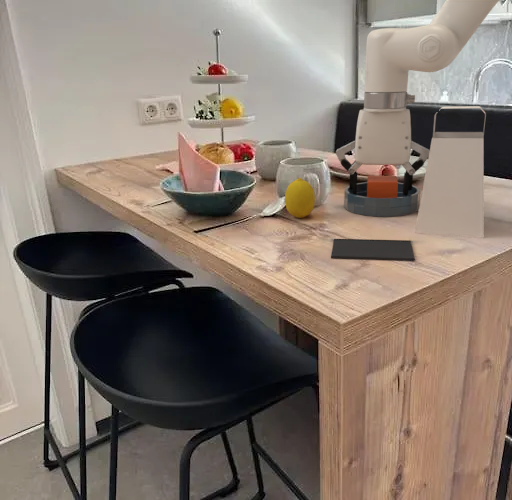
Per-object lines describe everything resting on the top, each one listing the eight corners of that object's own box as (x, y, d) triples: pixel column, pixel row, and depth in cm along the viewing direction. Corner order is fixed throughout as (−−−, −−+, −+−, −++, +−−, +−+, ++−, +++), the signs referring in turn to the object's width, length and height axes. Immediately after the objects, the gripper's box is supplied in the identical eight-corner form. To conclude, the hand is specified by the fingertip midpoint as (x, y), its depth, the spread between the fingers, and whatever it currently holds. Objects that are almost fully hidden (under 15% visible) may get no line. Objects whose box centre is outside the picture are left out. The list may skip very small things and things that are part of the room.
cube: (394, 203, 100) (396, 175, 98) (396, 210, 95) (397, 182, 93) (366, 202, 101) (367, 175, 99) (366, 210, 96) (367, 181, 94)
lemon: (301, 214, 98) (300, 173, 95) (321, 220, 93) (321, 177, 91) (279, 220, 95) (278, 178, 92) (298, 226, 90) (297, 182, 88)
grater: (420, 218, 91) (428, 105, 85) (483, 222, 88) (496, 104, 81) (414, 236, 82) (422, 110, 76) (483, 241, 78) (498, 109, 72)
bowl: (415, 200, 103) (416, 181, 102) (422, 220, 90) (424, 198, 89) (345, 200, 106) (346, 181, 105) (342, 219, 93) (343, 198, 92)
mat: (409, 240, 80) (409, 238, 80) (414, 261, 72) (415, 258, 72) (334, 238, 83) (334, 236, 83) (331, 258, 75) (331, 255, 74)
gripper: (432, 99, 93) (424, 189, 99) (338, 101, 96) (335, 188, 102) (437, 103, 86) (428, 199, 92) (336, 104, 90) (333, 197, 96)
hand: (379, 193), depth 97 cm, fingers open, 9 cm apart
